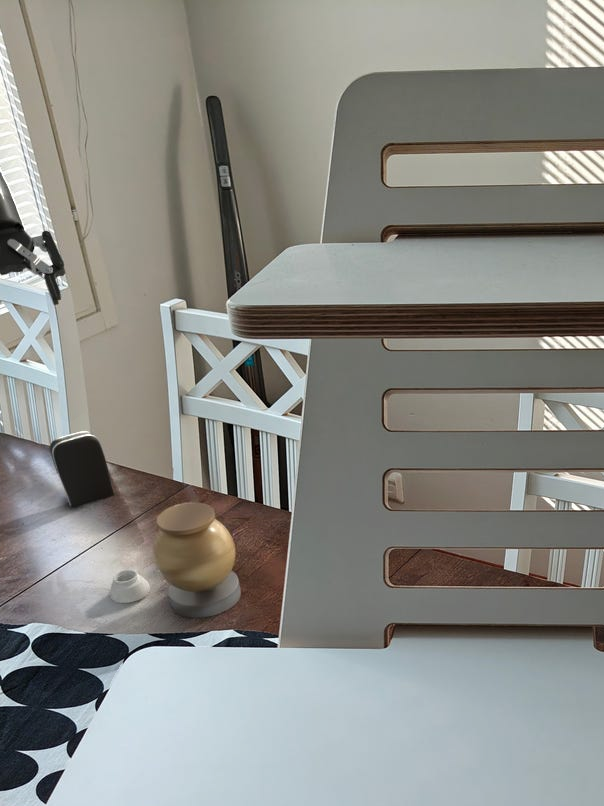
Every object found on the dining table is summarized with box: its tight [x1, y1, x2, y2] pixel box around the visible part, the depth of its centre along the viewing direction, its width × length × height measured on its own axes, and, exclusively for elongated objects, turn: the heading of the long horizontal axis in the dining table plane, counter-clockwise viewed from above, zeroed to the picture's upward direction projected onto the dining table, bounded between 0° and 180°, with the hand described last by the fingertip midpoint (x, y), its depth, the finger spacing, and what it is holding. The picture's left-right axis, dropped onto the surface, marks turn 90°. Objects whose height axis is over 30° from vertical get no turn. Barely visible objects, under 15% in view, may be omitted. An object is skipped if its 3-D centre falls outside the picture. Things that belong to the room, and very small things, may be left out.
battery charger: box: [49, 430, 116, 509], centre depth 146 cm, size 7×4×11 cm, turn 124°
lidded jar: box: [152, 501, 242, 619], centre depth 124 cm, size 10×10×12 cm
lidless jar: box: [109, 569, 151, 604], centre depth 128 cm, size 5×3×5 cm
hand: (25, 307), depth 141 cm, fingers open, 8 cm apart
